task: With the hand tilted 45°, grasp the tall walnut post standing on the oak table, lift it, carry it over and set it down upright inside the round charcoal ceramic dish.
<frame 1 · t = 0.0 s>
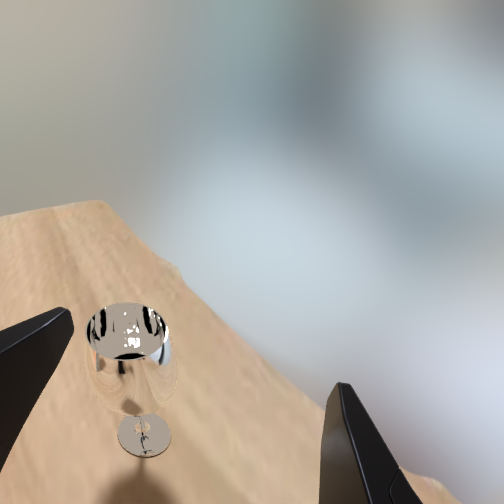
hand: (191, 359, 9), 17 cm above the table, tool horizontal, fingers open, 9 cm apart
wineglass: (144, 434, 21), on the table
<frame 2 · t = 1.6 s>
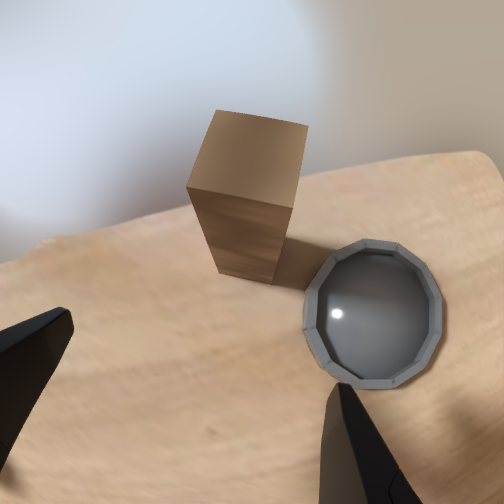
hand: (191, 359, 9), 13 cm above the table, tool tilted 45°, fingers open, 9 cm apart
dish: (373, 315, 23), on the table
walnut post: (251, 253, 24), on the table
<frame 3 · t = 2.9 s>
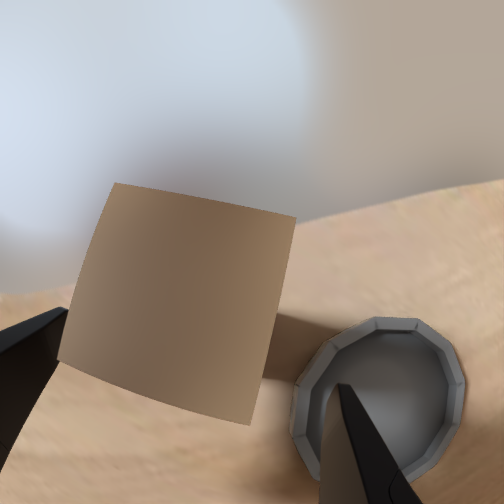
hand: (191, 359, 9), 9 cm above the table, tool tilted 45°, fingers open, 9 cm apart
dish: (379, 408, 16), on the table
walnut post: (225, 334, 18), on the table
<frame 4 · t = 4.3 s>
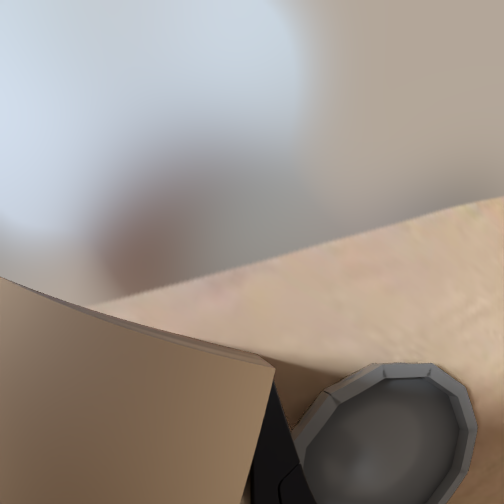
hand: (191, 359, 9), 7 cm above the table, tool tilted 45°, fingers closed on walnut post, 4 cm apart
dish: (382, 457, 13), on the table
walnut post: (209, 381, 15), on the table, touching gripper
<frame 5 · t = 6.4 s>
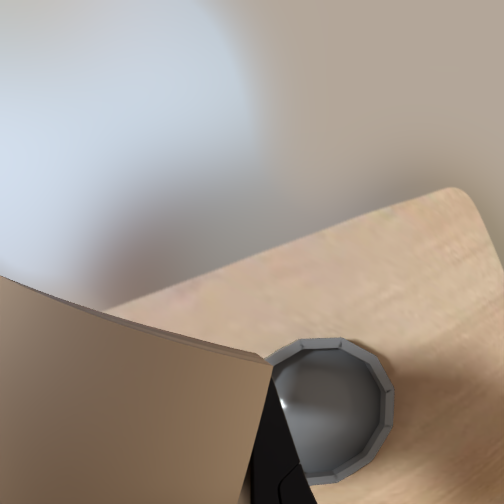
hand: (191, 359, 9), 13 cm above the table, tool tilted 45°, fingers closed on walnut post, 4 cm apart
dish: (316, 412, 21), on the table
walnut post: (208, 381, 15), point 7 cm above the table, touching gripper
when the fingers open (9 cm above the table, at t = 8.5 s): walnut post drops 1 cm, resting on dish.
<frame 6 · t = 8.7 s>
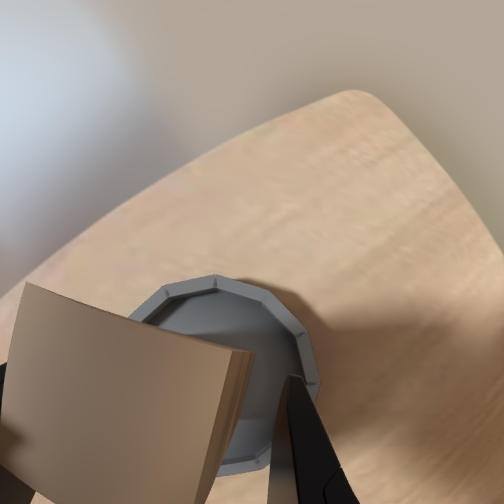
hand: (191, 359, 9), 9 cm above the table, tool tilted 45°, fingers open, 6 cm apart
dish: (213, 378, 17), on the table
walnut post: (211, 378, 16), point 1 cm above the table, touching dish
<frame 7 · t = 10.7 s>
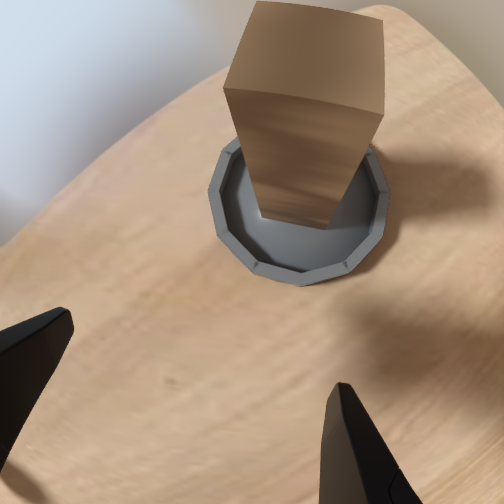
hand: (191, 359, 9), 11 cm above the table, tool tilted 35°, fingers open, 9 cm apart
dish: (299, 198, 20), on the table
walnut post: (298, 194, 20), point 1 cm above the table, touching dish
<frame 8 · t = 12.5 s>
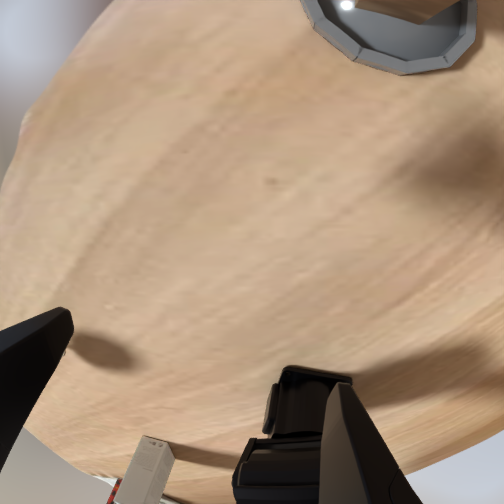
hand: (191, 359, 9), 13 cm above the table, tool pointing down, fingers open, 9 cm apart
deodorant: (129, 483, 54), on the table
skincare box: (159, 446, 39), on the table
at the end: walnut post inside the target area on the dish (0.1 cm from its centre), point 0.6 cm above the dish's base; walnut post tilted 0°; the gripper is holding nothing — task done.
